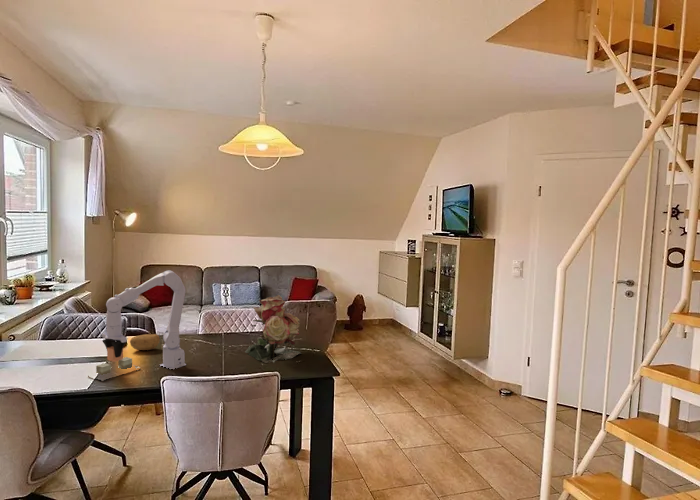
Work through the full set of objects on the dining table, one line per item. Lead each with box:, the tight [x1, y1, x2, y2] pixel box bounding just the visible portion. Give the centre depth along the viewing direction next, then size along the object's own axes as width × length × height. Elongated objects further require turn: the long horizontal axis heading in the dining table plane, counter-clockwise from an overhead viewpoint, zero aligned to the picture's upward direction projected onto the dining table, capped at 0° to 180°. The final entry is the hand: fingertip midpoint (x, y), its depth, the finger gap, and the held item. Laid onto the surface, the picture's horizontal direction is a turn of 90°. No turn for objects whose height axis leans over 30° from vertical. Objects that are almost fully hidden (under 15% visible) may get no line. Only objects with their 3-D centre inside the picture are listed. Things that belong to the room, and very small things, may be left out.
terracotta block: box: [106, 346, 124, 363], centre depth 196 cm, size 4×4×6 cm
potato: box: [129, 333, 161, 351], centre depth 229 cm, size 10×14×8 cm
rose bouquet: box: [244, 294, 302, 364], centre depth 228 cm, size 26×29×30 cm
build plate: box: [95, 356, 141, 375], centre depth 196 cm, size 10×18×5 cm, turn 151°
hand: (114, 355), depth 196 cm, fingers closed on terracotta block, 4 cm apart
